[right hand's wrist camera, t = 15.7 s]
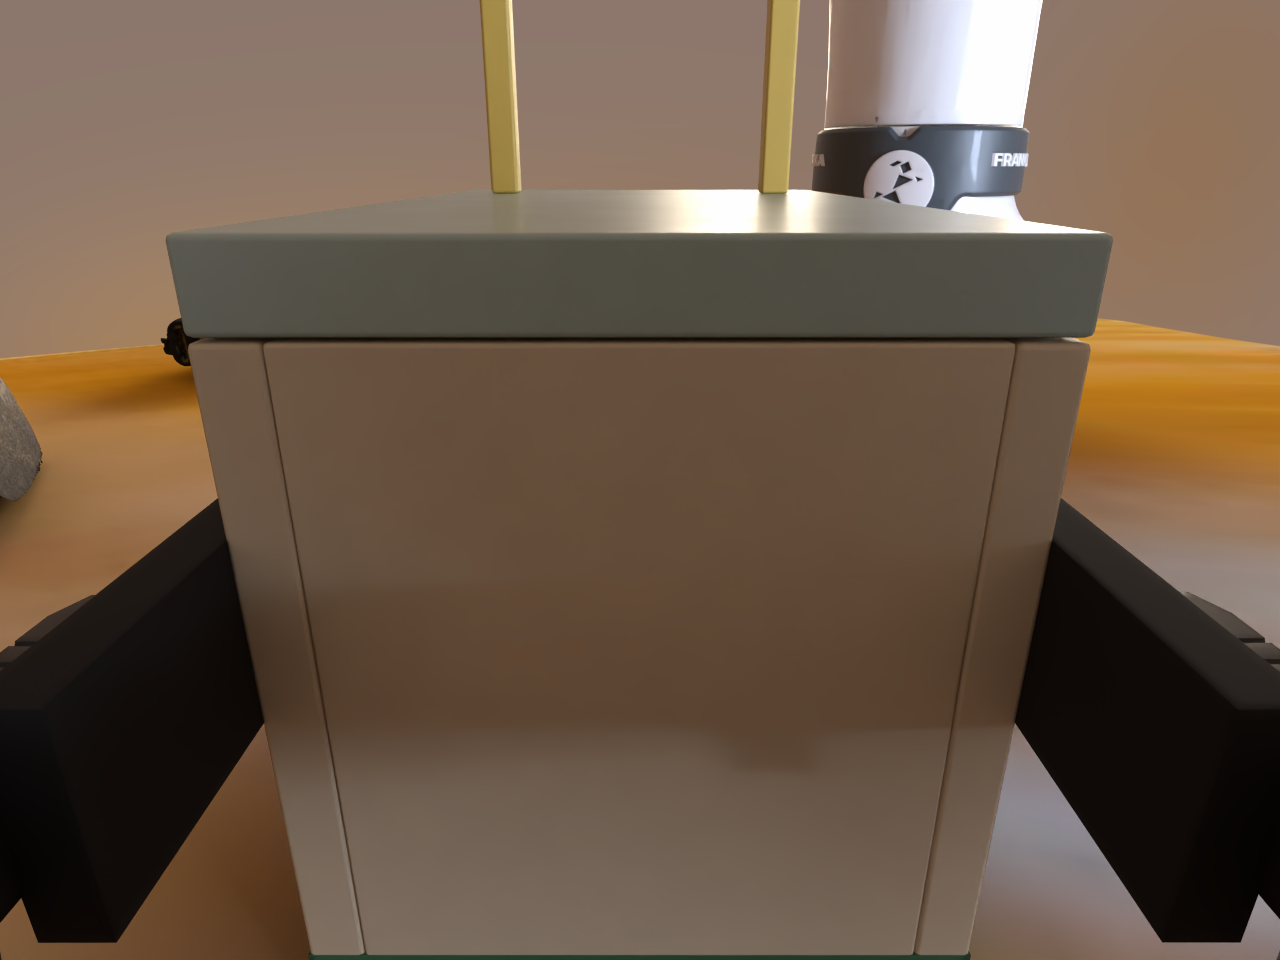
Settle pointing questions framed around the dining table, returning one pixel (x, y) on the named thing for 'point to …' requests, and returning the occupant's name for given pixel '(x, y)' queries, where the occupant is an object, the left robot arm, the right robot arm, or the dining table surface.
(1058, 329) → the lid
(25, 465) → the rock
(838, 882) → the chest
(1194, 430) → the dining table surface
